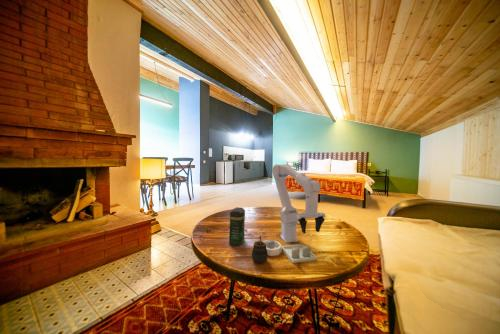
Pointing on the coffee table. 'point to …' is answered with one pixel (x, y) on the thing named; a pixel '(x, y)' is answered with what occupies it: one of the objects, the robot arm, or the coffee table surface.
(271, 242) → the grey rounded cylinder
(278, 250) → the bowl
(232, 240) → the coffee jar
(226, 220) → the coffee table surface
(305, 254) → the pebble
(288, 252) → the tray
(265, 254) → the mate gourd
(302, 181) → the robot arm
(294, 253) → the pebble
